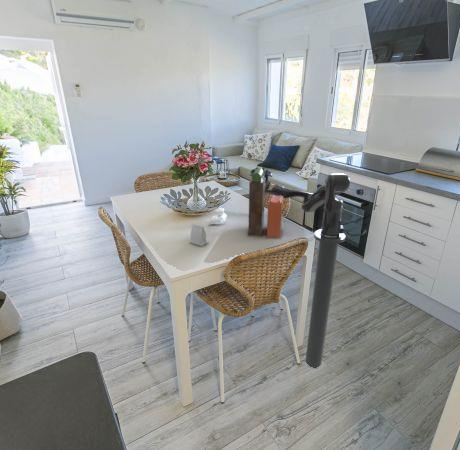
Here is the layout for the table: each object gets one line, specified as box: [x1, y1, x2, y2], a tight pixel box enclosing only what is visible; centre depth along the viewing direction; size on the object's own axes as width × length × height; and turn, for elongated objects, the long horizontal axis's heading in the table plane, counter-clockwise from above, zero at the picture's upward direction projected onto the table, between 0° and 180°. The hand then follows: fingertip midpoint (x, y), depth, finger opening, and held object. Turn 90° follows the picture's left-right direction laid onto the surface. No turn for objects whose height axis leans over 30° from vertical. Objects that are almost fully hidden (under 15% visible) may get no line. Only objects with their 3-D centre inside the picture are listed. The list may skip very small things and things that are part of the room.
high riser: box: [247, 176, 266, 237], centre depth 169 cm, size 7×12×31 cm, turn 171°
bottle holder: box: [266, 195, 284, 239], centre depth 170 cm, size 7×12×21 cm, turn 171°
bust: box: [209, 207, 228, 226], centre depth 183 cm, size 12×8×11 cm
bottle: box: [251, 166, 264, 182], centre depth 167 cm, size 5×21×5 cm, turn 171°
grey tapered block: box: [190, 223, 207, 247], centre depth 158 cm, size 4×7×10 cm, turn 58°
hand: (259, 168), depth 170 cm, fingers closed on bottle, 2 cm apart
